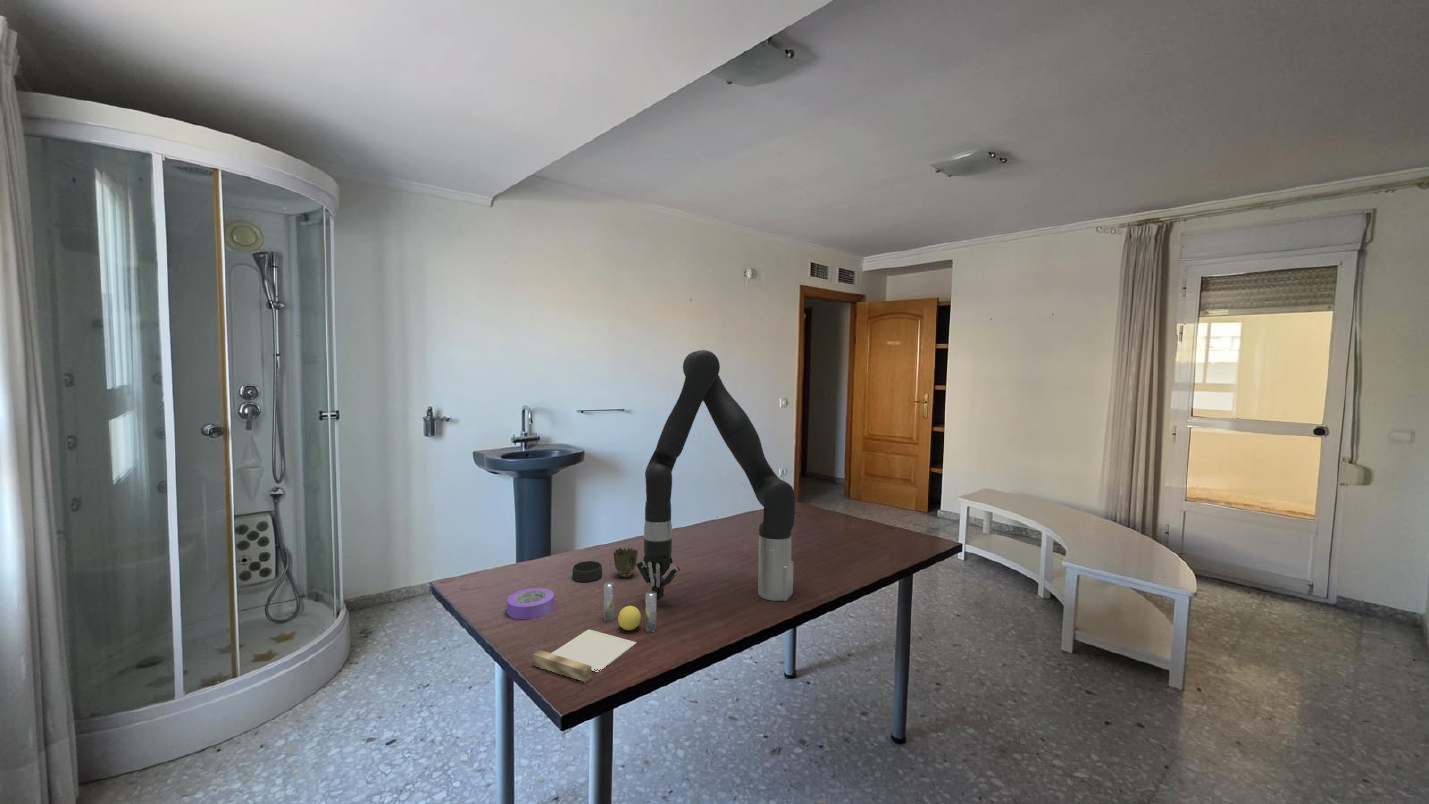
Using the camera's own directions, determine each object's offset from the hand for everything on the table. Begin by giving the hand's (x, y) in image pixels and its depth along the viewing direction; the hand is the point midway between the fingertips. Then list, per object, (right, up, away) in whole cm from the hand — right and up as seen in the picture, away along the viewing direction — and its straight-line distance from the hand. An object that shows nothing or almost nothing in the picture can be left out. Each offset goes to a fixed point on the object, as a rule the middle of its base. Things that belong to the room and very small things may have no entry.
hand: (657, 599), depth 140 cm
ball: (-5, +1, -14) cm, 15 cm away
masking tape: (-33, -2, -4) cm, 33 cm away
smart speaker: (-24, -1, +20) cm, 31 cm away
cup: (-12, -1, +21) cm, 24 cm away
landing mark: (-12, -2, -24) cm, 27 cm away
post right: (0, -2, -14) cm, 15 cm away
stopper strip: (-16, -2, -33) cm, 37 cm away
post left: (-11, -2, -9) cm, 15 cm away
